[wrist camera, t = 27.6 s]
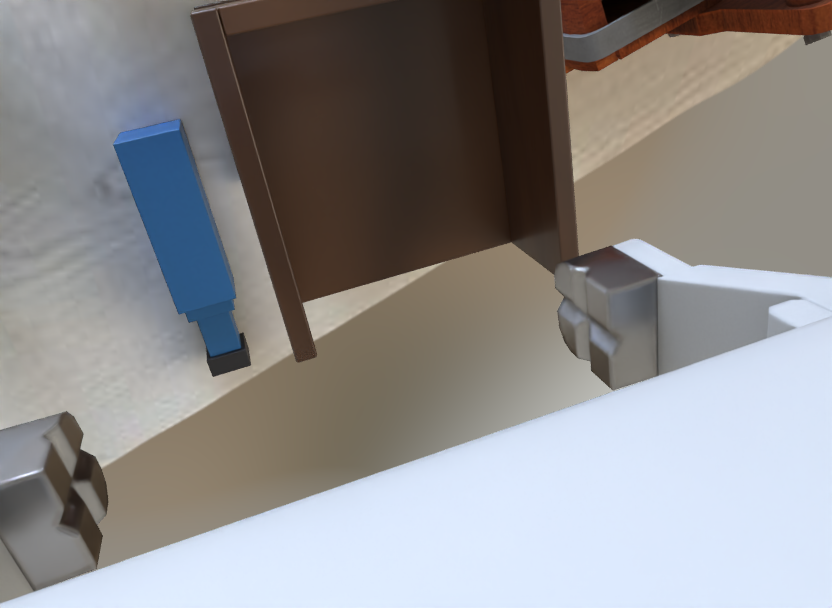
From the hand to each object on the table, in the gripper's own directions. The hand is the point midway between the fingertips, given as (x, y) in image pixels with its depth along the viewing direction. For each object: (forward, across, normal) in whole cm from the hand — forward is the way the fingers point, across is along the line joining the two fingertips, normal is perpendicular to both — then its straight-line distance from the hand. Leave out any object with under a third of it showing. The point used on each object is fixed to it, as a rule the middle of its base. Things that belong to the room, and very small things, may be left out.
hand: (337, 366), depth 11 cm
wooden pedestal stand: (+41, -5, +1) cm, 41 cm away
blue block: (+41, +6, +10) cm, 43 cm away
